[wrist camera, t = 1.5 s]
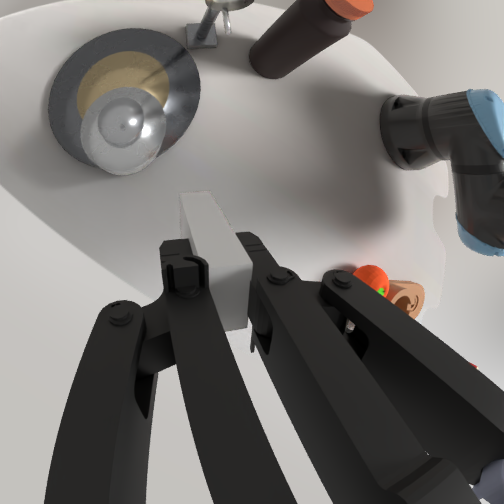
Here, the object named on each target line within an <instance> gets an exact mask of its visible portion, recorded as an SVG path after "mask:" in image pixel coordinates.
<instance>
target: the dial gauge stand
mask: <svg viewBox="0 0 504 504" xmlns="http://www.w3.org/2000/svg"><path fill="white" fill-rule="evenodd" d="M205 2H206V5H207V6H208V8H207V10H206V12H205V15H204V17H203V19H202V21H201V23H197V24H187V25H186V38H187V49H190V48H216V46H217V37H216V29H215V23H214V22H215V20H216V18H217V16H218V14H219V13H220V11H222V13H223V20H224V27H225V33H226V34H227V35H229V34H231V28H230V21H229V14H228V11H235V10H239V9H242V8H245V7H247V6H249V5H250V4H252V3H253V2H254V0H205Z"/></svg>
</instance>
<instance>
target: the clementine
mask: <svg viewBox="0 0 504 504" xmlns="http://www.w3.org/2000/svg"><path fill="white" fill-rule="evenodd" d="M353 275H355V276H356V277H357V278H359V279H360V280H362V281H363V282H364V283H366V284H367V285H369V286H370V287H371V288H373V289H374V290H375V291H377V292H378V293H380V294H381V295H382V296H384V297H385V298H386V296H387V294H388V291H389V280H388V277H387V275H386V273H385V272H384V271H383V270H382V269H381V268H379V267H377V266H374V265H366V266H362V267H360V268H358V269H357V270H356V271H355V272H354V273H353Z"/></svg>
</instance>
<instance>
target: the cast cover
mask: <svg viewBox="0 0 504 504" xmlns="http://www.w3.org/2000/svg"><path fill="white" fill-rule="evenodd" d="M165 132H166V117H165V113H164V110H163V108H162V106H161V104H160V103H159V101H158V100H157V99H156V98H155V97H154V96H153V95H152V94H150V93H149V92H147V91H145V90H143V89H139V88H135V87H121V88H117V89H113V90H111V91H108V92H106V93H105V94H103V95H101V96H100V97H99V98H98V99H96V100H95V101H94V102H93V103H92V104H91V106H90V107H89V109H88V110H87V112H86V114H85V116H84V118H83V121H82V125H81V143H82V146H83V149H84V151H85V153H86V154H87V156H88V157H89V158H90V159H91V161H93V162H94V163H95V164H96V165H98V166H99V167H101V168H102V169H104V170H105V171H107V172H109V173H111V174H115V175H130V174H134V173H137V172H139V171H141V170H143V169H144V168H146V167H147V166H148V165H149V164H150V163H151V162H152V161H153V160H154V159H155V157H156V156H157V154H158V152H159V150H160V147H161V144H162V141H163V139H164V136H165Z"/></svg>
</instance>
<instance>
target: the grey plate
mask: <svg viewBox="0 0 504 504" xmlns="http://www.w3.org/2000/svg"><path fill="white" fill-rule="evenodd" d="M121 87H135V88H139V89H143V90H145V91H147V92H149V93H150V94H152V95H153V96H154V97H155V98H156V99H157V100H158V101H159V103H160V104H161V106H162V108H163V110H164V113H165V117H166V132H165V136H164V139H163V141H162V144H161V147H160V150H159V152H158V154H157V156H156V157H158V156H159V155H161V154H162V153H164V152H165V151H167V150H168V149H169V148H170V147H171V146H173V145H174V144H175V143H176V142H177V141H178V140H179V138H180V137H181V136H182V135H183V134H184V132H185V131H186V129H187V128H188V127H189V125H190V123H191V121H192V119H193V118H194V115H195V113H196V110H197V107H198V103H199V99H200V90H201V89H200V78H199V73H198V70H197V67H196V64H195V62H194V60H193V59H192V57H191V55H190V54H189V53H188V51H187V50H186V49H185V48H184V47H183V46H182V45H181V44H180V43H178V42H177V41H176V40H174V39H172V38H171V37H169V36H167V35H165V34H162V33H160V32H157V31H153V30H148V29H136V28H131V29H122V30H117V31H113V32H109V33H106V34H104V35H101V36H99V37H97V38H95V39H93V40H91V41H90V42H88V43H86V44H85V45H84V46H82V47H81V48H80V49H78V50H77V51H76V52H75V53H74V54H73V55H72V56H71V57H70V58H69V59H68V60H67V62H66V63H65V64H64V65H63V67H62V68H61V70H60V71H59V73H58V75H57V77H56V79H55V81H54V84H53V86H52V89H51V93H50V98H49V107H48V110H49V120H50V125H51V128H52V131H53V133H54V135H55V137H56V139H57V141H58V142H59V144H60V145H61V146H62V147H63V148H64V150H66V151H67V152H68V153H69V154H70V155H71V156H73V157H74V158H76V159H78V160H79V161H81V162H83V163H85V164H88V165H90V166H94V167H98V168H101V167H99V166H98V165H96V164H95V163H94V162H93V161H91V159H90V158H89V157H88V156H87V154H86V153H85V151H84V149H83V146H82V143H81V125H82V121H83V118H84V116H85V114H86V112H87V110H88V109H89V107H90V106H91V104H92V103H93V102H94V101H95V100H96V99H98V98H99V97H100V96H101V95H103V94H105V93H106V92H108V91H111V90H113V89H117V88H121ZM156 157H155V158H156Z"/></svg>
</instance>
